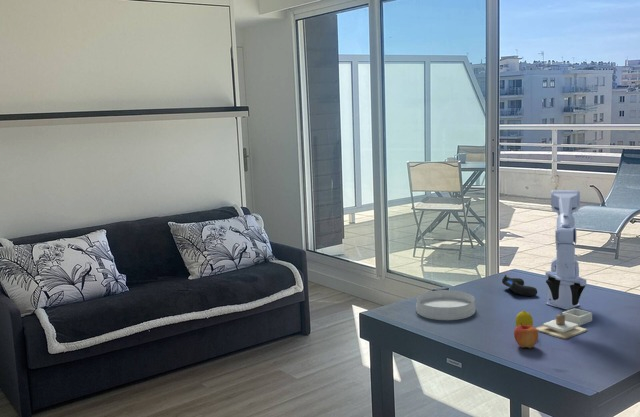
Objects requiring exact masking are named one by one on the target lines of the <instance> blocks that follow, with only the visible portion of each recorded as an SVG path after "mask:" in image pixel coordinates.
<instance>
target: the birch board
mask: <svg viewBox="0 0 640 417" xmlns="http://www.w3.org/2000/svg"><path fill="white" fill-rule="evenodd" d="M535 328H536V329H537V331H538V333H542V334H546V335H549V336H552V337H555V338H558V339H560V340H563V341H565V340H567V339H570V338H572V337H575V336H577V335H580V334H583V333H586V332H588V329H587V328H584V327H581V326H578V327H576V328H573V329H571V330H568V331H566V332H563V333H562V332H559V331H555V330H552V329H549V328H547V327H544V326H543V324H542V325H539V326H537V327H535Z"/></svg>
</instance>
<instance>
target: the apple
mask: <svg viewBox="0 0 640 417" xmlns="http://www.w3.org/2000/svg"><path fill="white" fill-rule="evenodd" d="M513 337H514V340H515V342H516V343H517V345H518V346H519V347H521V348H522V349H524V348H528V349H532V348H533V347H534V346H535V345H536V343H537V342H538V339H539V331H537V329H536V327H535V326H534V325H533V326H530V325H522V323H521V325H519V326H517V327H515V329H514V332H513Z"/></svg>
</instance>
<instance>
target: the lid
mask: <svg viewBox="0 0 640 417" xmlns="http://www.w3.org/2000/svg"><path fill="white" fill-rule="evenodd" d="M542 325H543V326H544V327H547V328H549V329H552V330H555V331H559V332H562V333H563V332H566V331H568V330H571V329H573V328H576V327H579V325H578V324H575V323H572V322H568V321H565V315H563V314H562V313H560V314H559V313H557V314H555V319H553V320H550V321H547V322H544V323H542Z"/></svg>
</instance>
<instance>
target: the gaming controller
mask: <svg viewBox="0 0 640 417" xmlns="http://www.w3.org/2000/svg"><path fill="white" fill-rule="evenodd" d="M501 280H502V281H501V282H502V285H504V286H506V287H509V289H510V291H513V292H514V293H515V294H516V295H521V296H525V297H536V296H537V294H538V289H537V288H536V287H534V286H530V285H525V281H524V279H522V278H519V277H509V276H507V274H504V276H503V278H502V279H501Z"/></svg>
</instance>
